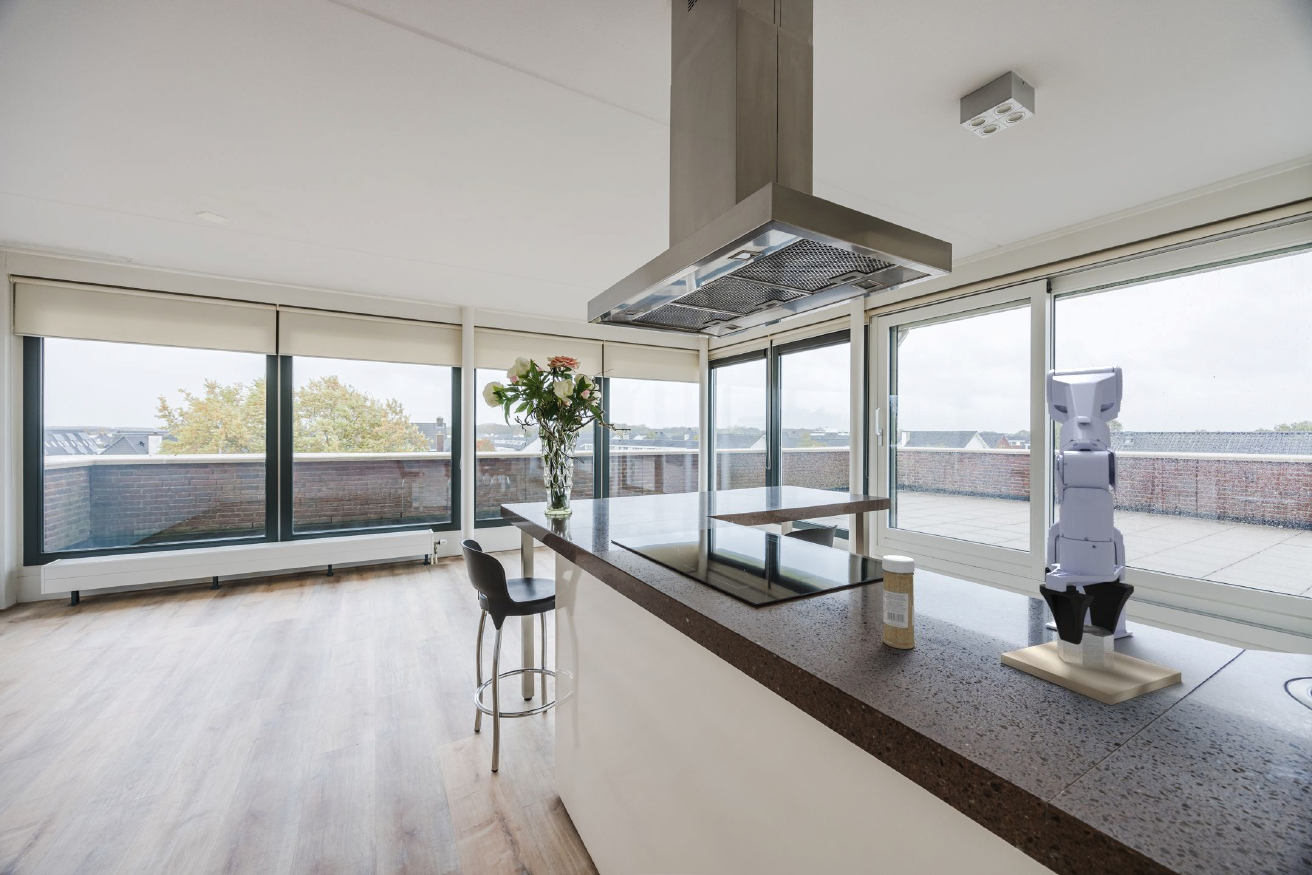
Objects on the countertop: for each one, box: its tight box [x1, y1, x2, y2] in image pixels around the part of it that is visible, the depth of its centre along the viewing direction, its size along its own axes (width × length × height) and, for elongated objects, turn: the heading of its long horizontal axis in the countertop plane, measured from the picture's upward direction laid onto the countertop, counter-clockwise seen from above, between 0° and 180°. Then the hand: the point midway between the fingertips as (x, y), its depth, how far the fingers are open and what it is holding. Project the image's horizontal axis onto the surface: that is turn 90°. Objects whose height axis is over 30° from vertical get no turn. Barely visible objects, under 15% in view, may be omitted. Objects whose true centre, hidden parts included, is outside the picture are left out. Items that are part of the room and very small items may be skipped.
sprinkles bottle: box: [881, 554, 916, 650], centre depth 80 cm, size 5×5×14 cm
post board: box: [1000, 627, 1182, 706], centre depth 70 cm, size 16×13×6 cm
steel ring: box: [1056, 623, 1115, 671], centre depth 70 cm, size 6×6×4 cm
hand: (1087, 637), depth 70 cm, fingers open, 7 cm apart
